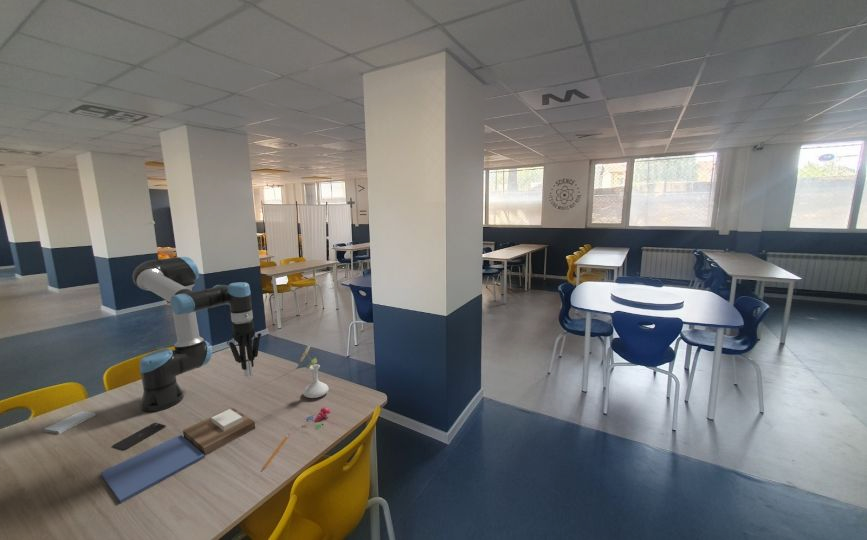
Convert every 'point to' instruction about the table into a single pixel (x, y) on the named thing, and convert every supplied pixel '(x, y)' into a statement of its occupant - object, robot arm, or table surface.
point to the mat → (151, 467)
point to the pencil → (275, 452)
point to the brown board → (216, 433)
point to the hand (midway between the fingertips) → (248, 375)
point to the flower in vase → (314, 379)
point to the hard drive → (69, 422)
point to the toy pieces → (319, 416)
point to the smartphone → (138, 436)
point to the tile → (227, 419)
